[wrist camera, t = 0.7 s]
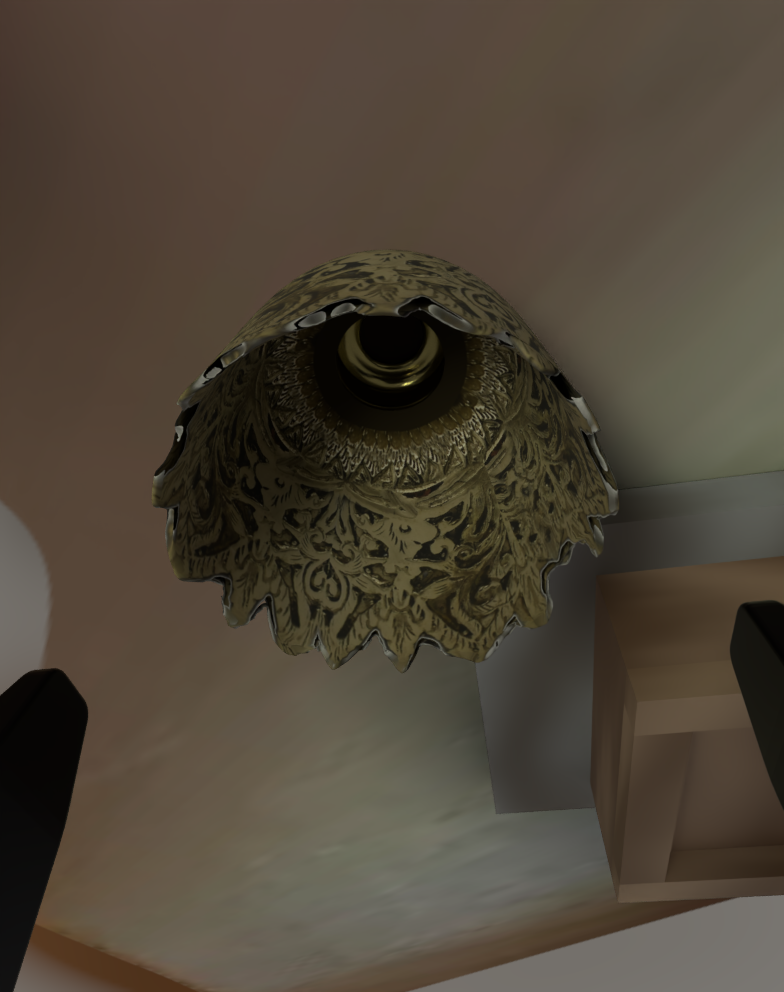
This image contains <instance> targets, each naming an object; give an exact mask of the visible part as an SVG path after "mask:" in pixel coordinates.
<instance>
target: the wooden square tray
mask: <svg viewBox="0 0 784 992" xmlns="http://www.w3.org/2000/svg"><path fill="white" fill-rule="evenodd" d="M618 494H619V511H618V513H617V514H616V515H609V516H607V517H605V518H601V519H599V520H600V523H601V527H602V530H603V536H604V545H603V550H602V553H601V554H600V555H599V556H598V557H596V556H594V555H593V554H592V552H591V550H590V548H589V546H588V545H587V544H586V543H585V544H581V543H580V542H577V543H576V544H575V545H576V546H575V547H574V548H573V551H572V556H571V558H570V561H569V563H568V564H566V565H560V566H557V567H556V568H555V570H553V571H552V573H551V574H550V575H549V582H550V587H549V588H550V590H549V591H550V596H551V599H552V601H553V609H552V613H551V616H550V619H549V621H548V623H547V624H546V625H543V626H541V627H538V628H535V629H531V630H530V629H528V628H526V627H520V626H516V627H515V628H514V629H513V631H512V633H511V634H510V635H507V636H506V637H505V639H504V640H503V641H502V643H501V644H500V646H499V647H498V648H497V650H496V651H495V652H494V653H493V654H492V655H491V656H490V657H489V658H488V659H487V660H485V661H482V662H480V663H475V666H476V673H477V680H478V687H479V695H480V702H481V709H482V716H483V723H484V730H485V738H486V745H487V752H488V759H489V766H490V773H491V780H492V788H493V795H494V802H495V809H496V814H503V813H519V812H534V811H549V810H565V809H580V808H595V807H596V811H597V815H598V819H599V824H600V828H601V832H602V836H603V841H604V845H605V849H606V854H607V858H608V862H609V866H610V871H611V875H612V879H613V884H614V888H615V892H616V897H617V901H618V903H630V902H650V901H671V900H691V899H712V898H732V897H752V896H772V895H784V811H783V809H782V806H781V804H780V802H779V800H778V797H777V795H776V793H775V790H774V788H773V786H772V783H771V781H770V778H769V775H768V772H767V769H766V767H765V764H764V761H763V758H762V755H761V752H760V749H759V746H758V742H757V739H756V736H755V733H754V730H753V727H752V724H751V721H750V718H749V715H748V712H747V709H746V706H745V703H744V700H743V697H742V693H741V690H740V687H739V684H738V681H737V678H736V675H735V672H734V669H733V666H732V662H731V658H730V642H731V638H732V633H733V628H734V624H735V619H736V614H737V610H738V608H739V606H740V605H741V604H742V603H745V602H753V601H763V600H775V601H778V602H780V603H782V604H784V471H776V472H768V473H759V474H751V475H742V476H734V477H725V478H717V479H708V480H700V481H691V482H683V483H674V484H666V485H657V486H649V487H640V488H632V489H623V490H618ZM600 517H601V516H600Z"/></svg>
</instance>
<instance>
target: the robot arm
mask: <svg viewBox="0 0 784 992" xmlns="http://www.w3.org/2000/svg"><path fill="white" fill-rule="evenodd" d="M730 658H731V662H732V666H733V669H734V672H735V675H736V678H737V681H738V684H739V687H740V690H741V693H742V697H743V700H744V703H745V706H746V709H747V712H748V715H749V718H750V721H751V724H752V727H753V730H754V733H755V736H756V739H757V742H758V746H759V749H760V752H761V755H762V758H763V761H764V764H765V767H766V769H767V772H768V775H769V778H770V781H771V783H772V786H773V788H774V790H775V793H776V795H777V797H778V800H779V802H780V804H781V806H782V809H783V811H784V604H782V603H780V602H778V601H775V600H763V601H753V602H745V603H742V604H741V605H740V606H739V608H738V610H737V614H736V619H735V624H734V628H733V633H732V638H731V642H730ZM87 722H88V707H87V704H86V702H85V700H84V699H83V697H82V696H81V694H80V693H79V692H78V690H77V689H76V688H75V686H74V685H73V684H72V682H71V681H70V680H69V678H68V677H67V675H66V674H65V673H64V672H63V671H62V670H60V669H57V668H51V669H40V670H33V671H30V672H28V673H26V674H25V675H23V676H22V677H21V678H20V679H18V680H17V681H16V682H15V683H14V684H13V685H12V686H11V687H9V688H8V689H7V690H6V691H5V692H4V693H3V694H1V695H0V992H13V991H14V988H15V985H16V982H17V978H18V975H19V972H20V969H21V966H22V963H23V959H24V956H25V953H26V950H27V947H28V944H29V940H30V937H31V934H32V931H33V928H34V924H35V921H36V918H37V915H38V912H39V909H40V905H41V902H42V899H43V896H44V893H45V890H46V886H47V883H48V880H49V877H50V874H51V871H52V867H53V864H54V861H55V858H56V855H57V851H58V848H59V845H60V842H61V838H62V835H63V831H64V828H65V824H66V820H67V816H68V812H69V807H70V803H71V798H72V793H73V788H74V783H75V779H76V774H77V769H78V764H79V760H80V755H81V750H82V745H83V741H84V736H85V731H86V726H87Z"/></svg>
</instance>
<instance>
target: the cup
mask: <svg viewBox="0 0 784 992" xmlns="http://www.w3.org/2000/svg"><path fill="white" fill-rule="evenodd" d="M378 315H387V316H398V317H406V316H408V315H412V316H414V317H416V318H418V319H419V320H420V322H421V324H422V328H423V341H422V344H421V347H420V349H419V350H418V352H417V353H416V354H415V355H414V356H413V357H412V358H410V359H409V360H407V361H405V362H402V363H397V364H387V363H382V362H379V361H377V360H375V359H374V358H372V357H371V356H370V355H369V354H368V353H367V352H366V351H365V349H364V348H363V346H362V343H361V339H360V328H361V324H362V322H363V320H364V318H365V317H366V316H378ZM177 404H178V405H180V406H181V407H182V409H183V410H182V412H181V414H180V415H179V417H178V419H177V420H176V423H175V430H176V433H175V436H174V442H173V446H172V448H171V450H170V452H169V454H168V456H167V458H166V460H165V461H164V463H163V464H162V465H161V466H160V467H159V468H158V470H157V471H156V472H155V475H154V480H153V488H152V505H153V506H154V507H156V508H165V509H167V523H166V531H165V537H166V545H167V550H168V555H169V558H170V562H171V564H172V567H173V569H174V574H175V575H176V576H177V578H178V579H179V580H182V581H187V582H205V581H212V582H215V583H217V584H220V585H222V586H223V585H224V587H223V591H224V595H223V597H222V596H221V597H222V606H223V614H224V616H225V618H226V620H227V623H228V626H230V627H232V628H238V627H240V626H243V625H247V624H248V623H249V621H251V620H253V619H254V618H255V616H256V614H257V613H259V612H260V611H261V610H262V609H263V608H264V607H267V616H268V621H269V626H270V630H271V634H272V638H273V640H274V641H275V643H276V644H277V645H278V647H279V648H280V649H281V650H282V651H283V652H285V653H286V654H289V655H294V656H296V655H297V654H301V653H308V652H309V651H310V650H312V649H316V647H317V651H321V652H322V654H323V656H324V658H325V660H326V662H327V664H328V665H329V667H330V668H331V669H332V670H334V669H337V668H339V667H340V666H341V665H343V664H344V663H346V662H347V661H349V660H350V659H351V658H352V657H353V656H354V655H355V654H356V653H357V652H358V651H359V650H365V649H366V647H367V646H368V645H369V643H370V642H371V640H372V639H371V638H372V637H373V636H377V637H378V639H379V642H380V643H381V644H382V646H383V649H384V653H385V655H386V656H388V658H389V659H390V660H391V661H392V663H393V664H394V666H395V667H396V669H397V670H398V671H400V672H401V673H404V672H406V671H407V670H408V668H409V667H410V665H411V663H412V662H413V660H414V658H415V656H416V654H417V652H418V649H419V647H420V646H422V645H430V646H433V647H435V648H437V649H439V651H442V652H443V653H444V654H445V655H447V656H452V657H459V658H464V659H467V660H470V661H473V662H475V663H480V662H482V661H485V660H487V659H488V658H489V657H490V656H491V655H492V654H493V653H494V652H495V651H496V650H497V648H498V647H499V646H500V644H501V643H502V641H503V640H504V639H505V637H506V636H507V635H510V634H511V633H512V631H513V629H514V628H515V627H516V626H520V627H526V628H528V629H530V630H531V629H535V628H538V627H541V626H543V625H546V624H547V623H548V621H549V619H550V616H551V613H552V609H553V601H552V599H551V596H550V591H549V590H550V588H549V587H550V582H549V575H550V574H551V573H552V571H553V570H555V568H556V567H557V566H560V565H566V564H568V563H569V561H570V558H571V556H572V551H573V548H574V547H575V546H576V545H575V544H576V543H577V542H580V543H581V544H585V543H586V544H587V545H588V546H589V548H590V550H591V552H592V554H593V555H594V556H596V557H598V556H599V555H600V554H601V553H602V550H603V545H604V536H603V530H602V527H601V523H600V520H599V519H601V518H605V517H607V516H609V515H616V514H617V513H618V511H619V494H618V488H617V484H616V481H615V478H614V476H613V473H612V471H611V468H610V466H609V464H608V462H607V460H606V458H605V456H604V454H603V452H602V450H601V447H600V444H599V442H598V439H597V437H596V434H595V432H597V431H601V429H600V427H599V425H598V423H597V421H596V419H595V417H594V415H593V413H592V411H591V410H590V408H589V406H588V404H587V403H586V401H585V400H584V398H583V397H582V395H580V394H579V393H578V392H577V391H576V390H575V389H574V388H573V387H572V386H571V384H570V383H569V382H568V380H567V379H566V377H565V376H564V375H563V373H562V372H561V370H560V369H559V368H558V366H557V365H556V363H555V362H554V361H553V359H552V358H551V357H550V355H549V354H548V352H547V351H546V350H545V348H544V347H543V346H542V344H541V343H540V342H539V340H538V339H537V338H536V336H535V335H534V334H533V332H532V331H531V330H530V328H529V327H528V326H527V325H526V323H525V322H524V321H523V319H522V318H521V317H520V316H519V315H518V313H517V312H516V311H515V310H514V309H513V308H512V307H511V306H510V305H509V304H508V303H507V302H506V301H505V300H504V299H503V298H502V297H501V296H500V295H499V294H498V293H497V292H496V291H495V290H493V289H492V288H491V287H490V286H488V285H487V284H486V283H485V282H483V281H482V280H481V279H479V278H478V277H476V276H474V275H473V274H471V273H469V272H468V271H466V270H465V269H463V268H460V267H458V266H456V265H454V264H452V263H449V262H447V261H445V260H442V259H439V258H436V257H433V256H430V255H427V254H422V253H417V252H412V251H403V250H371V251H365V252H358V253H354V254H350V255H346V256H343V257H339V258H336V259H333V260H331V261H328V262H326V263H323V264H321V265H318V266H316V267H314V268H313V269H311V270H309V271H307V272H305V273H304V274H302V275H300V276H299V277H298V278H296V279H295V280H294V281H292V282H291V283H289V284H288V285H287V286H285V287H284V288H283V289H281V290H280V291H279V292H278V293H276V294H275V295H274V296H273V297H272V298H271V299H270V300H269V301H268V302H267V303H266V304H265V305H264V306H263V307H262V308H261V309H260V310H258V311H257V313H256V314H255V315H254V316H253V317H252V318H251V319H250V320H249V321H248V322H247V323H246V325H245V326H244V327H243V328H242V329H241V330H240V331H239V332H238V334H237V335H236V336H235V337H234V338H233V339H232V340H231V342H230V343H229V344H228V345H227V346H226V347H225V349H224V350H223V351H222V352H221V353H220V354H219V355H218V357H217V358H216V359H215V360H214V361H213V362H212V364H211V365H210V366H209V367H208V368H207V369H206V370H205V371H204V372H203V373H202V374H201V375H200V376H199V377H198V378H197V379H196V380H195V381H194V382H193V383H192V384H191V385H190V386H189V387H188V388H187V389H186V390H185V391H184V392H183V393H182V395H181V396H180V398H179V399H178V402H177ZM600 516H601V517H600ZM264 600H265V601H266V603H263V604H261V605H260V606H259V607H258V605H259V604H260V603H261V602H262V601H264ZM257 607H258V608H257ZM438 647H439V648H438ZM440 648H441V649H440Z"/></svg>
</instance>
